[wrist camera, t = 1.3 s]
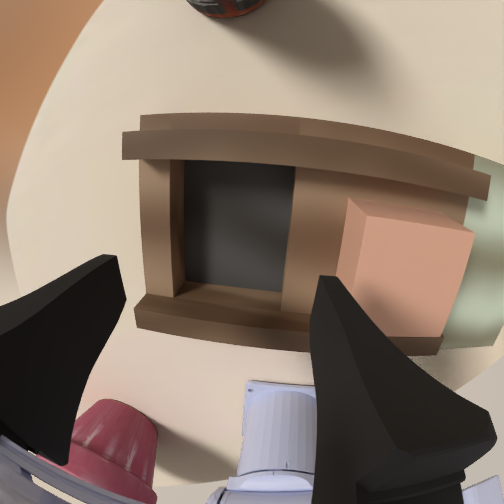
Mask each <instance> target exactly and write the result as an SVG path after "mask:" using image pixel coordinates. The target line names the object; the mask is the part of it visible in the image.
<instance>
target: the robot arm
mask: <svg viewBox="0 0 504 504" xmlns="http://www.w3.org/2000/svg"><path fill="white" fill-rule="evenodd" d="M126 300H127V299H126V295H125V291H124V287H123V282H122V278H121V274H120V269H119V264H118V259H117V256H115V255H107V254H103V255H100V256H98V257H95V258H93V259H91V260H89V261H88V262H86V263H84V264H82V265H80V266H78V267H77V268H75V269H73V270H71V271H70V272H68V273H66V274H64V275H63V276H61V277H59V278H57V279H56V280H54V281H52V282H50V283H48V284H46V285H45V286H43V287H41V288H39V289H37V290H35V291H33V292H32V293H30V294H27V295H25V296H23V297H21V298H19V299H17V300H15V301H12V302H10V303H7V304H5V305H2V306H0V504H71V503H68V502H66V501H65V500H63V499H61V498H59V497H57V496H55V495H54V494H52V493H50V492H48V491H46V490H44V489H43V488H41V487H39V486H38V485H36V484H35V483H34V482H33V480H32V476H31V474H32V475H34V476H35V477H37V478H39V479H40V480H42V481H44V482H45V483H47V484H49V485H51V486H53V487H54V488H56V489H58V490H60V491H62V492H64V493H66V494H68V495H70V496H72V497H74V498H76V499H78V500H80V501H82V502H84V503H87V504H146V503H143V502H139V501H136V500H133V499H130V498H127V497H124V496H121V495H118V494H115V493H113V492H110V491H107V490H105V489H102V488H100V487H97V486H95V485H92V484H90V483H88V482H86V481H83V480H81V479H79V478H77V477H74V476H72V475H70V474H68V473H66V472H64V471H62V470H60V469H58V468H56V467H54V466H52V465H51V464H49V463H47V462H45V461H43V460H42V459H40V458H38V457H36V456H35V455H33V454H31V453H30V452H28V450H29V451H31V452H33V453H34V454H36V455H37V454H38V455H40V456H42V457H44V458H46V459H47V460H49V461H51V462H53V463H55V464H57V465H59V466H64V465H67V464H68V462H69V452H70V445H71V438H72V432H73V428H74V423H75V419H76V414H77V411H78V407H79V404H80V401H81V397H82V394H83V391H84V388H85V386H86V383H87V380H88V377H89V375H90V373H91V370H92V368H93V366H94V364H95V362H96V360H97V359H98V357H99V355H100V353H101V351H102V349H103V348H104V346H105V344H106V342H107V340H108V339H109V337H110V335H111V333H112V331H113V330H114V328H115V326H116V324H117V322H118V320H119V318H120V315H121V313H122V310H123V308H124V305H125V302H126ZM309 322H310V352H311V360H312V368H313V376H314V385H315V386H301V385H288V384H277V383H267V382H258V381H248V382H247V383H246V391H245V404H244V417H243V429H242V436H243V442H242V447H241V453H240V458H239V463H238V469H237V474H236V477H229V479H228V484H227V487H219V488H218V489H217V490H216V491H215V492H214V493H212V494H211V495H210V497H209V498H208V500H207V502H206V504H504V500H503V494H502V490H501V485H500V480H499V476H498V475H495V476H493V477H490V478H488V479H486V480H484V481H481V482H479V483H477V484H474V485H472V486H470V487H468V488H466V489H463V490H461V485H460V483H461V482H463V481H465V478H466V476H465V472H464V469H465V468H467V467H468V466H469V465H471V464H473V463H474V462H475V461H477V460H478V459H480V458H481V457H482V456H483V455H485V454H486V453H487V452H488V451H490V450H491V448H492V447H493V446H494V445H495V443H496V441H497V435H496V432H495V429H494V426H493V423H492V421H491V417H490V415H489V412H488V411H487V410H485V409H483V408H481V407H479V406H478V405H476V404H474V403H472V402H470V401H468V400H466V399H465V398H463V397H461V396H459V395H458V394H456V393H455V392H453V391H452V390H450V389H449V388H447V387H446V386H444V385H443V384H441V383H440V382H438V381H437V380H436V379H434V378H433V377H431V376H430V375H429V374H428V373H426V372H425V371H424V370H423V369H421V368H420V367H419V366H418V365H416V364H415V363H414V362H413V361H412V360H411V359H409V358H408V357H407V356H406V355H405V354H404V353H403V352H402V351H401V350H400V349H399V348H398V347H397V346H395V345H394V344H393V343H392V342H391V341H390V340H389V339H388V338H387V336H386V335H385V334H384V333H383V332H382V331H381V330H380V329H379V328H378V327H377V326H376V324H375V323H374V322H373V321H372V320H371V319H370V317H369V316H368V315H367V314H366V313H365V311H364V310H363V309H362V308H361V306H360V305H359V304H358V303H357V301H356V300H355V299H354V298H353V296H352V295H351V294H350V292H349V291H348V290H347V288H346V287H345V286H344V284H343V283H342V282H341V281H340V279H339V278H338V277H337V276H326V275H319V280H318V285H317V289H316V294H315V298H314V303H313V307H312V312H311V316H310V320H309ZM251 389H252V390H251Z"/></svg>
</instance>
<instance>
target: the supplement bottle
mask: <svg viewBox="0 0 504 504" xmlns="http://www.w3.org/2000/svg"><path fill="white" fill-rule="evenodd" d="M265 1H266V0H187V2H188V3H189V4H190V5H191V6H193V7H194V8H195V9H196V10H197V11H199V12H201V13H203V14H205V15H208V16H211V17H219V18H226V17H234V16H240V15H243V14H246V13H248V12H251V11H253V10H254V9H256V8H257V7H259V6H260V5H261V4H263V3H264V2H265Z"/></svg>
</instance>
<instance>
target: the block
mask: <svg viewBox="0 0 504 504" xmlns="http://www.w3.org/2000/svg"><path fill="white" fill-rule="evenodd" d="M474 237H475V233H474V232H473V231H471V230H469V229H468V228H466V227H465V226H463V225H461V224H460V223H458V222H456V221H455V220H453V219H451V218H449V217H448V216H446V215H444V214H442V213H441V212H436V211H430V210H425V209H419V208H413V207H408V206H402V205H396V204H389V203H383V202H376V201H370V200H363V199H356V198H348V205H347V212H346V219H345V226H344V232H343V238H342V244H341V250H340V255H339V261H338V266H337V272H336V276H337V277H338V278H339V279H340V281H341V282H342V283H343V284H344V286H345V287H346V288H347V290H348V291H349V292H350V294H351V295H352V296H353V298H354V299H355V300H356V301H357V303H358V304H359V305H360V306H361V308H362V309H363V310H364V311H365V313H366V314H367V315H368V316H369V317H370V319H371V320H372V321H373V322H374V323H375V324H376V326H377V327H378V328H379V329H380V330H381V331H382V332H383V333H384V334H385V335H386V336H391V337H440V336H441V334H442V332H443V329H444V327H445V324H446V322H447V320H448V317H449V315H450V312H451V309H452V307H453V304H454V302H455V299H456V296H457V293H458V290H459V288H460V285H461V282H462V279H463V275H464V272H465V269H466V266H467V263H468V259H469V256H470V252H471V248H472V245H473V241H474Z"/></svg>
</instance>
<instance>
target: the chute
mask: <svg viewBox="0 0 504 504" xmlns="http://www.w3.org/2000/svg"><path fill="white" fill-rule="evenodd" d="M137 159H139V191H140V220H141V238H142V252H143V264H144V275H145V284H146V294H145V296H144V297H143V298H142V299H141V300H140V302H139V303H138V304H137V305H136V306H135V307H134V313H135V319H136V325H137V328H141V329H146V330H151V331H156V332H161V333H166V334H171V335H177V336H182V337H188V338H194V339H200V340H206V341H213V342H219V343H226V344H233V345H241V346H249V347H257V348H266V349H275V350H285V351H297V352H309V353H311V352H310V322H309V320H310V316H311V312H312V307H313V303H314V298H315V294H316V289H317V285H318V280H319V275H326V276H336V272H337V266H338V261H339V255H340V250H341V244H342V238H343V232H344V226H345V219H346V212H347V205H348V198H356V199H363V200H370V201H376V202H383V203H389V204H396V205H402V206H408V207H413V208H419V209H425V210H430V211H436V212H441V213H442V214H444V215H446V216H448V217H449V218H451V219H453V220H455V221H456V222H458V223H460V224H461V225H463V226H465V227H466V228H468V229H469V230H471V231H473V232H474V233H475V237H474V241H473V245H472V248H471V252H470V256H469V259H468V263H467V266H466V269H465V272H464V275H463V279H462V282H461V285H460V288H459V290H458V293H457V296H456V299H455V302H454V304H453V307H452V309H451V312H450V315H449V317H448V320H447V322H446V324H445V327H444V329H443V332H442V334H441V336H440V337H391V336H387V338H388V339H389V340H390V341H391V342H392V343H393V344H394V345H395V346H397V347H398V348H399V349H400V350H401V351H402V352H403V353H404V354H405V355H406V356H428V355H436V354H437V352H438V350H439V349H440V348H464V347H481V346H493V344H494V342H495V340H496V338H497V336H498V334H499V332H500V330H501V328H502V326H503V324H504V165H502V164H499V163H497V162H494V161H491V160H489V159H486V158H483V157H480V156H477V155H474V154H471V153H468V152H465V151H462V150H459V149H456V148H452V147H449V146H446V145H442V144H439V143H435V142H431V141H428V140H424V139H420V138H416V137H412V136H408V135H403V134H399V133H394V132H390V131H385V130H380V129H375V128H370V127H364V126H358V125H353V124H346V123H340V122H333V121H326V120H318V119H310V118H300V117H290V116H279V115H265V114H246V113H171V114H152V115H141V116H140V131H130V132H123V133H122V160H137Z"/></svg>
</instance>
